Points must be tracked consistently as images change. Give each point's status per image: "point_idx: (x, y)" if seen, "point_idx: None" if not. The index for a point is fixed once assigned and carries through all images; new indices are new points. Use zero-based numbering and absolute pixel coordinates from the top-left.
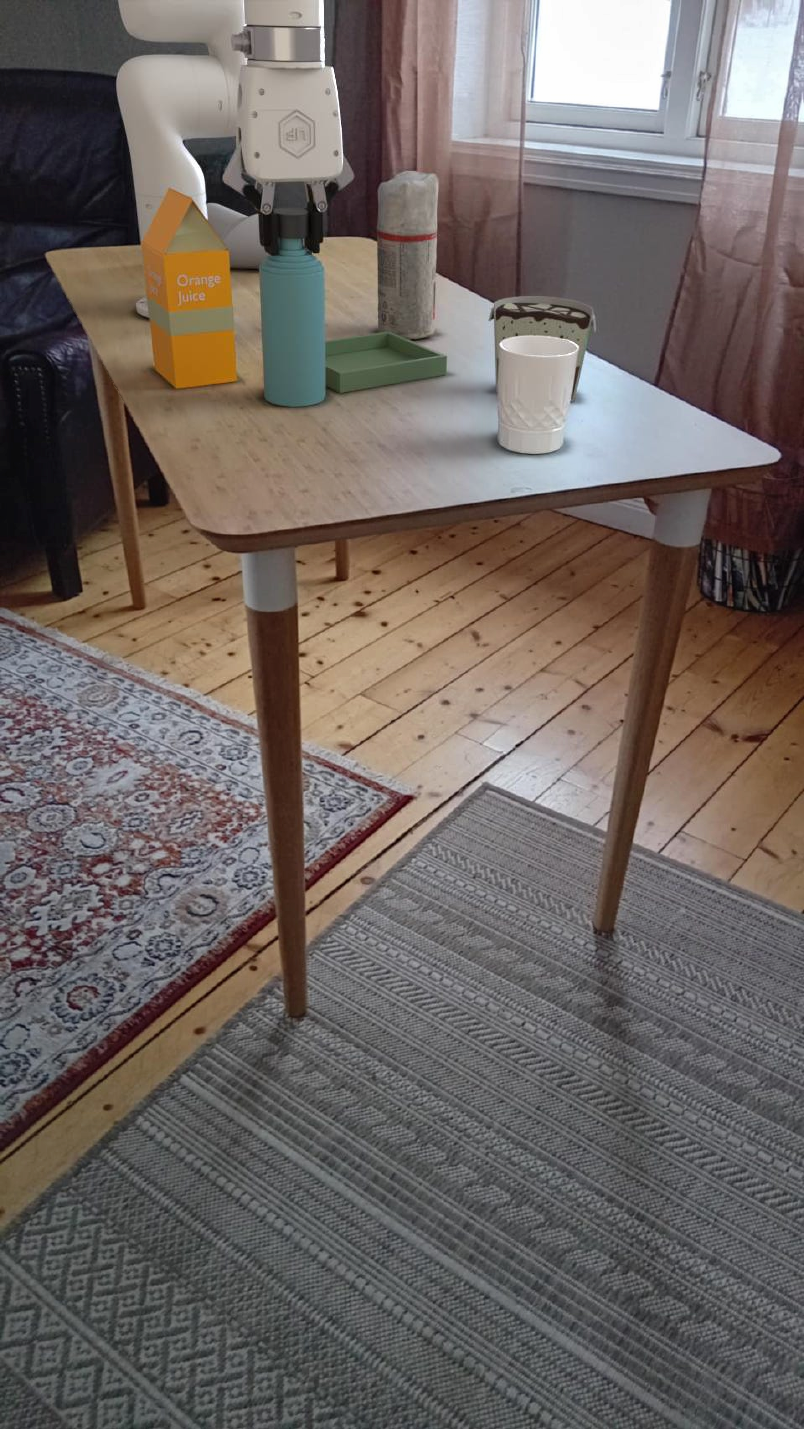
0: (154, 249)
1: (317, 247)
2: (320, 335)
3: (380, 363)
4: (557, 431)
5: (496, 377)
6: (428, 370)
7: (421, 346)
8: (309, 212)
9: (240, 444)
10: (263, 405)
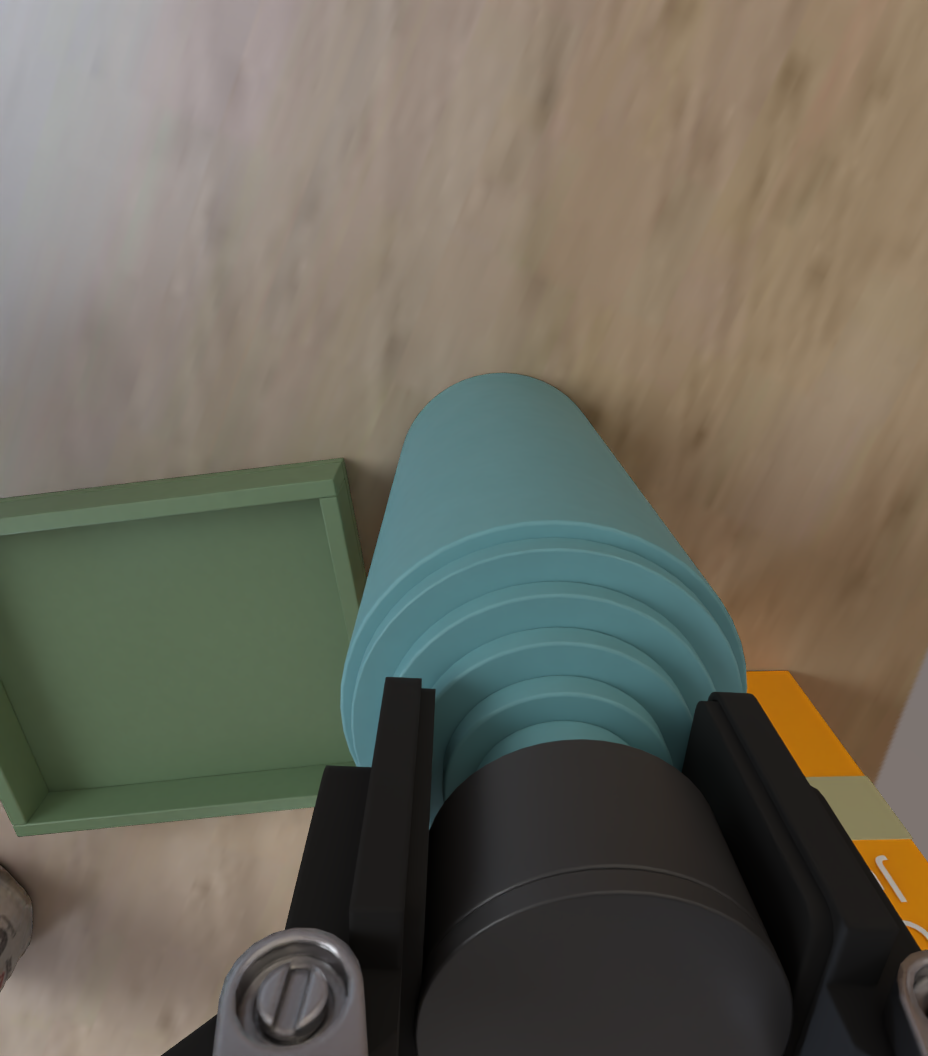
0: None
1: (400, 696)
2: (431, 453)
3: (120, 656)
4: None
5: None
6: None
7: None
8: (416, 986)
9: (884, 68)
10: (624, 438)
